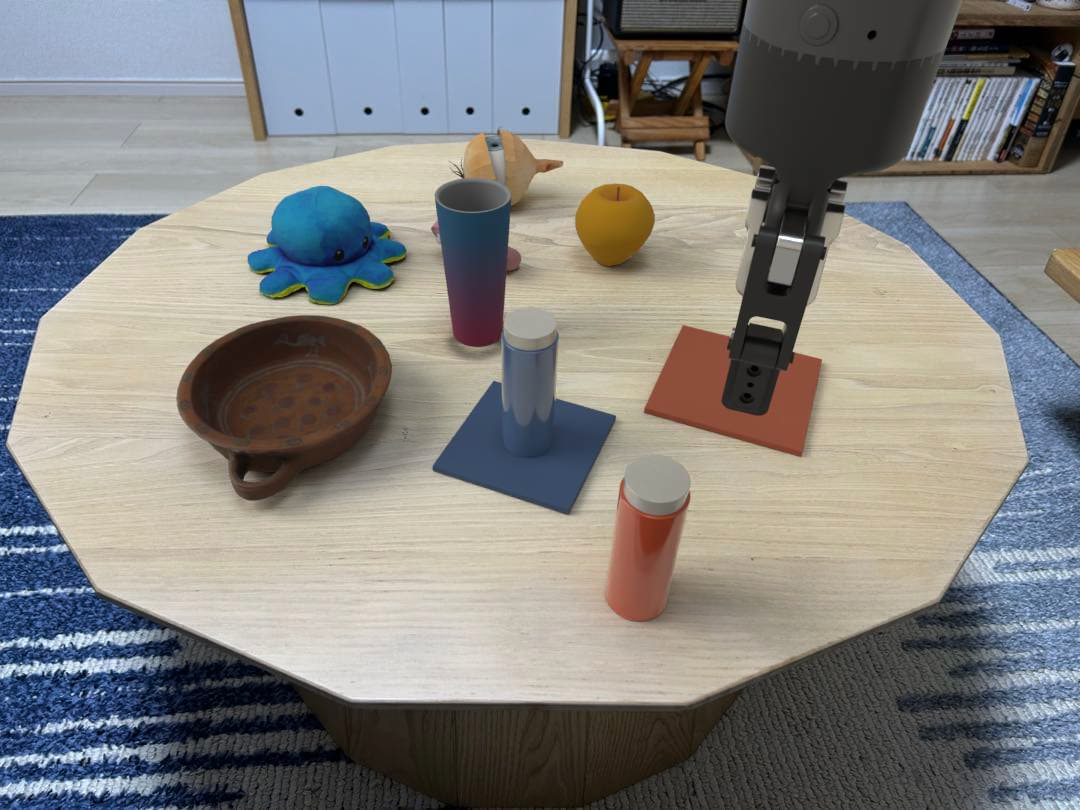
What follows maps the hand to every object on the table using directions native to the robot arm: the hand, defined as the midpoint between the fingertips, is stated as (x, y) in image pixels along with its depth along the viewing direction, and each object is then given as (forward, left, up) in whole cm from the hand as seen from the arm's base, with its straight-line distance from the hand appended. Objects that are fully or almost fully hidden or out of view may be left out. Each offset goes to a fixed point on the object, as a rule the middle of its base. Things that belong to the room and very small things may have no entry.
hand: (755, 357), depth 40 cm
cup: (+28, -23, -22) cm, 42 cm away
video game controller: (+34, -35, -22) cm, 53 cm away
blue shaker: (+17, -10, -21) cm, 29 cm away
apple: (+20, -42, -22) cm, 51 cm away
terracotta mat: (+2, -25, -22) cm, 33 cm away
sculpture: (+37, -50, -22) cm, 66 cm away
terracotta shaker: (+4, +1, -22) cm, 22 cm away
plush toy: (+49, -28, -22) cm, 60 cm away
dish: (+37, -5, -22) cm, 43 cm away
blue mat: (+17, -10, -22) cm, 29 cm away
